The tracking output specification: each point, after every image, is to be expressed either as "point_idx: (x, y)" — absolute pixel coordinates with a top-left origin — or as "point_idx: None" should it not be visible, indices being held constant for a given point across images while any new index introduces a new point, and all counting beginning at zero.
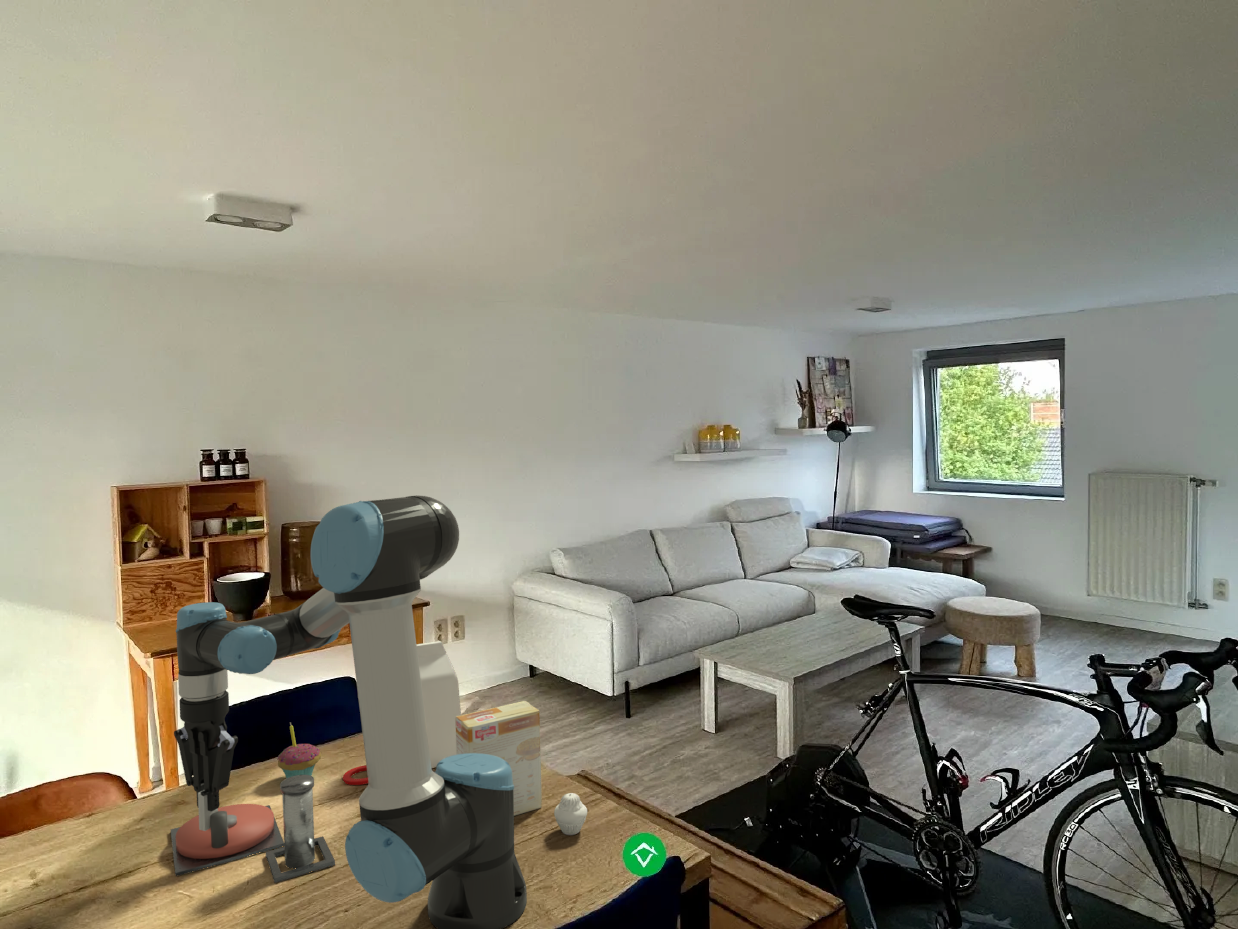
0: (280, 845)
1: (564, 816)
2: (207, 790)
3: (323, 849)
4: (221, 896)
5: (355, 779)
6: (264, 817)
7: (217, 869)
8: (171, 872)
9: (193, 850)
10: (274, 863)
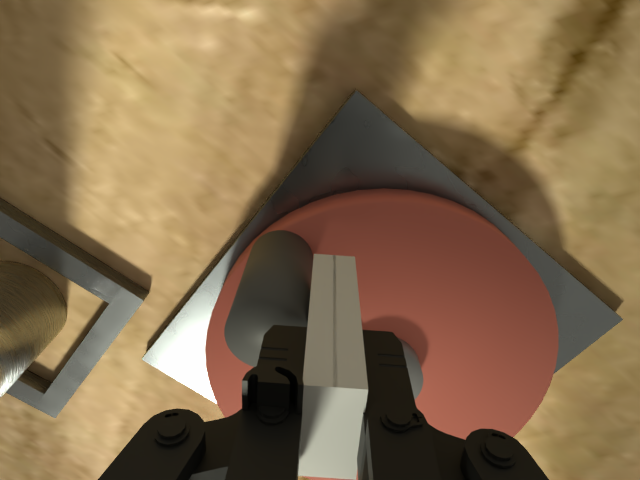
0: (148, 349)
1: None
2: (256, 415)
3: None
4: (58, 39)
5: None
6: None
7: (241, 181)
8: (399, 108)
9: (364, 200)
10: (44, 254)
